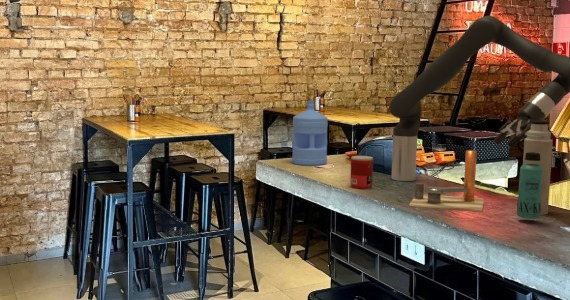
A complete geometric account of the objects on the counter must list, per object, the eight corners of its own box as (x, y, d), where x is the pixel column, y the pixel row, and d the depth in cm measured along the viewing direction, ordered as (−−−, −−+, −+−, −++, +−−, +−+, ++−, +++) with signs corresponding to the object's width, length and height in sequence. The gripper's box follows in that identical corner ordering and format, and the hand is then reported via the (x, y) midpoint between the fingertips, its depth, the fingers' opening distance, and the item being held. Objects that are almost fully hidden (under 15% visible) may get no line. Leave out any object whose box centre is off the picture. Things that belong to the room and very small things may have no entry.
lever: (429, 203, 204) (431, 152, 202) (421, 199, 210) (423, 150, 208) (478, 201, 207) (480, 152, 205) (469, 197, 213) (471, 149, 211)
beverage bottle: (512, 218, 189) (516, 150, 186) (534, 218, 189) (538, 150, 187) (522, 224, 182) (526, 154, 180) (544, 224, 183) (549, 154, 180)
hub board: (416, 195, 221) (417, 179, 221) (484, 200, 214) (484, 183, 214) (409, 206, 204) (409, 188, 204) (482, 211, 197) (483, 193, 197)
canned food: (371, 189, 231) (372, 159, 230) (349, 188, 233) (349, 158, 231) (373, 185, 238) (373, 156, 237) (351, 184, 240) (352, 155, 239)
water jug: (290, 160, 298) (290, 99, 295) (323, 160, 300) (325, 100, 296) (294, 166, 283) (295, 101, 279) (329, 165, 285) (331, 102, 281)
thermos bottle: (519, 208, 203) (525, 119, 200) (547, 210, 201) (553, 120, 197) (520, 213, 196) (525, 121, 192) (548, 215, 193) (554, 122, 190)
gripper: (517, 100, 217) (484, 134, 216) (542, 102, 203) (507, 139, 202) (531, 115, 218) (498, 150, 218) (556, 119, 205) (521, 155, 204)
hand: (502, 144), depth 210 cm, fingers open, 8 cm apart
